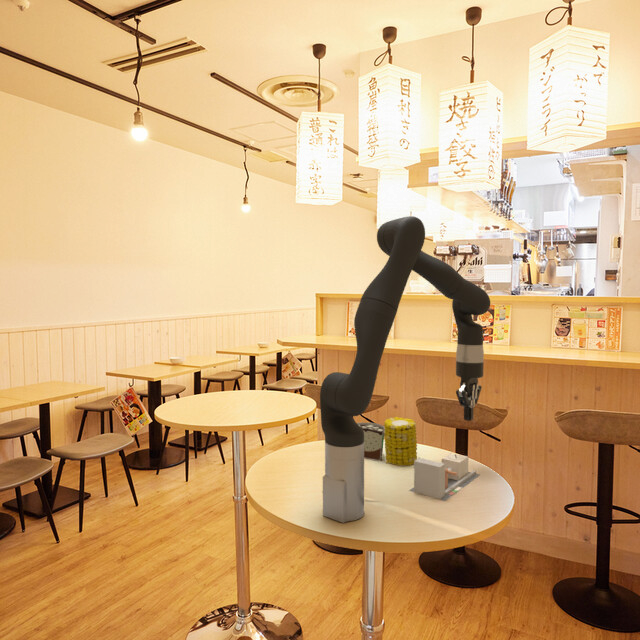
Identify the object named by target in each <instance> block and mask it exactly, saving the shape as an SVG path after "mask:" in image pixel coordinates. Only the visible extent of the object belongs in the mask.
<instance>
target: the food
mask: <svg viewBox="0 0 640 640" xmlns="http://www.w3.org/2000/svg"><path fill="white" fill-rule="evenodd" d="M383 423H384V425H383V426H384V428H385V432H384V433H385V437H384V449H385V464H392V465H395V466H400V467H401V466H412V465H414V461H415V460H417V459H418V456H417V455H418V452H417V450H418V447H417V446H418V445H417V442H418V440H417V430H416V429H417V427H416V426H417V423H416V421H415V420H413V419H412V418H404V417H399V416H394V417H389V418H386V420H385V421H384V422H383Z"/></svg>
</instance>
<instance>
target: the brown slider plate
mask: <svg viewBox="0 0 640 640" xmlns="http://www.w3.org/2000/svg"><path fill="white" fill-rule="evenodd" d="M448 474H451V475H455V476H456V475H457V473H456V472H452V471H448V469H446V468H445V489H447V488H448Z"/></svg>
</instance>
